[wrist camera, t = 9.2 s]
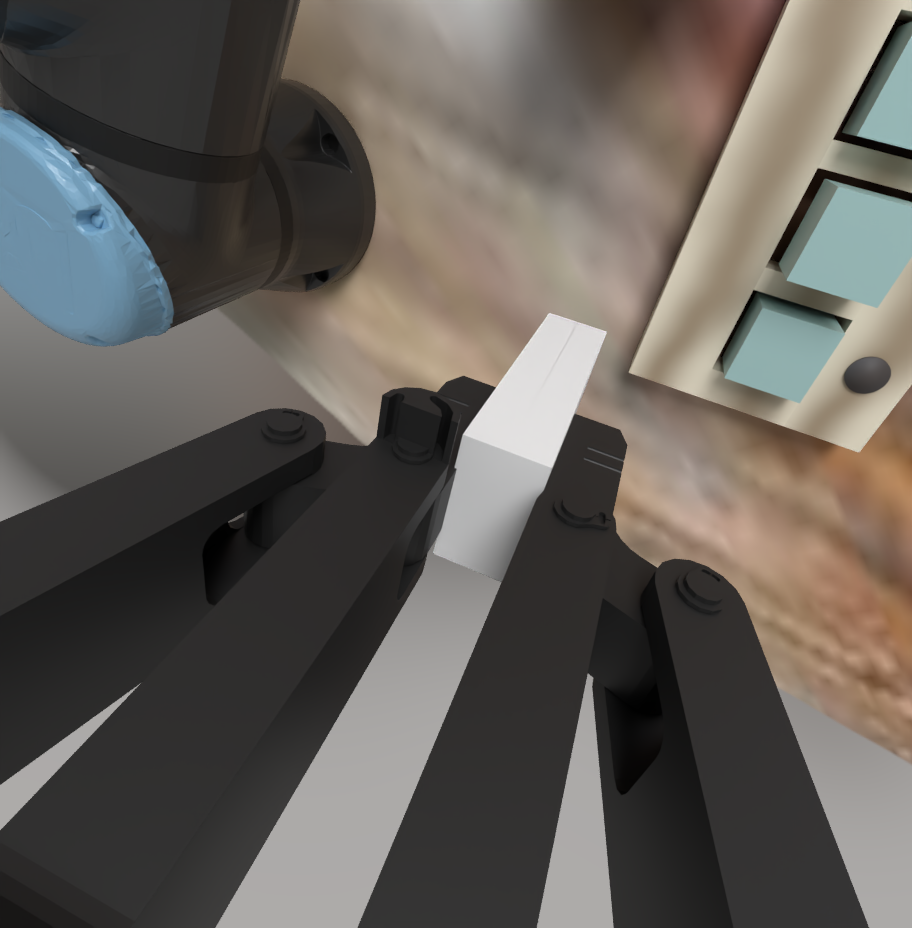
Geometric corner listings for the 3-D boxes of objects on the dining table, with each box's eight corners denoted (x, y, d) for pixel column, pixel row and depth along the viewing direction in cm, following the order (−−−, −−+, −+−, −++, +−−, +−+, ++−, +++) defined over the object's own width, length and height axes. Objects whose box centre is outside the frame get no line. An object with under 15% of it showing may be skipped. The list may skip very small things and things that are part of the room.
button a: (722, 356, 40) (724, 377, 37) (757, 290, 37) (762, 308, 34) (791, 379, 39) (799, 403, 36) (832, 313, 37) (845, 333, 33)
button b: (778, 264, 34) (786, 280, 31) (824, 178, 32) (838, 186, 28) (860, 288, 34) (877, 308, 30) (915, 203, 31) (940, 214, 28)
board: (632, 358, 43) (628, 373, 41) (811, -59, 29) (822, -75, 27) (849, 432, 41) (859, 453, 38) (1161, 12, 27) (1209, 2, 24)
